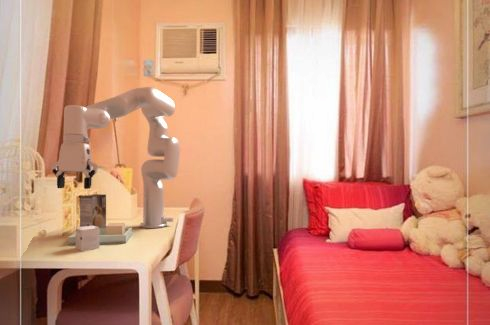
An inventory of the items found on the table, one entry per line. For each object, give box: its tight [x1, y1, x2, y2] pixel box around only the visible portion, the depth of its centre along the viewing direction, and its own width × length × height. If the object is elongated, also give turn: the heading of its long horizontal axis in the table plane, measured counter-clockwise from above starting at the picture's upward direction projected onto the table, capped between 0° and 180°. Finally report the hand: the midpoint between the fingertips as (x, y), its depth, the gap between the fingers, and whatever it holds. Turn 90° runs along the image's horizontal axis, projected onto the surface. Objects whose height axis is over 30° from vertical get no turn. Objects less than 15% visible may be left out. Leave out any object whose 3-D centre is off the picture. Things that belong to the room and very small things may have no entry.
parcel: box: [106, 222, 126, 235], centre depth 127 cm, size 6×6×5 cm
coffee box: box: [79, 193, 107, 229], centre depth 139 cm, size 9×6×16 cm
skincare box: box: [75, 226, 100, 252], centre depth 114 cm, size 6×6×7 cm
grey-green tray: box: [67, 227, 133, 246], centre depth 126 cm, size 20×14×3 cm
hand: (74, 188), depth 115 cm, fingers open, 9 cm apart
